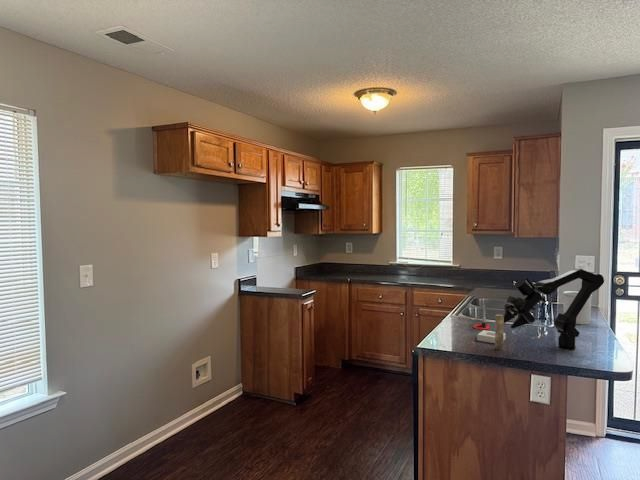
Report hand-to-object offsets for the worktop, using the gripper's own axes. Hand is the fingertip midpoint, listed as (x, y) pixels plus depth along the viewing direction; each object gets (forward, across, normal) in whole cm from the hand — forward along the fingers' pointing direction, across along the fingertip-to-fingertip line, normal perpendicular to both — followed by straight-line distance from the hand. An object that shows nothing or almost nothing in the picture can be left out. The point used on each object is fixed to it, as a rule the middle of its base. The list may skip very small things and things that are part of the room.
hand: (506, 325), depth 204 cm
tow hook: (+4, -39, +12) cm, 41 cm away
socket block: (+8, -15, +8) cm, 19 cm away
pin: (+10, 0, +6) cm, 12 cm away
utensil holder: (-42, -50, +57) cm, 86 cm away
